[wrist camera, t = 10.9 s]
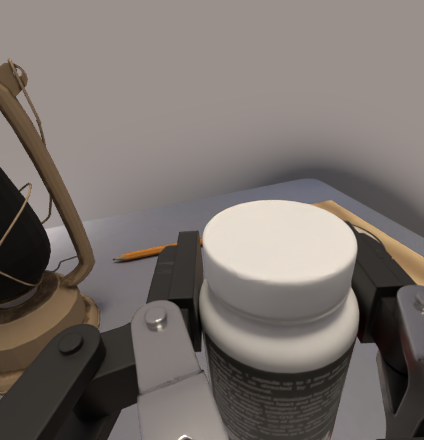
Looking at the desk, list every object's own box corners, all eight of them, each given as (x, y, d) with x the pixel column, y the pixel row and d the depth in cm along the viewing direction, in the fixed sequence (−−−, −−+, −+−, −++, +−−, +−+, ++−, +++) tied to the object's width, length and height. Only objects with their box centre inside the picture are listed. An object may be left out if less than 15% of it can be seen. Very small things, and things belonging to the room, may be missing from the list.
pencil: (241, 231, 43) (113, 258, 40) (242, 228, 42) (111, 255, 39) (243, 237, 43) (113, 264, 39) (244, 234, 42) (112, 261, 38)
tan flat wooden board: (330, 205, 50) (331, 199, 49) (458, 287, 31) (462, 279, 31) (245, 223, 46) (245, 217, 46) (333, 329, 28) (334, 321, 27)
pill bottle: (360, 449, 10) (432, 263, 6) (235, 501, 9) (220, 322, 5) (292, 340, 14) (308, 184, 10) (200, 369, 13) (176, 209, 9)
